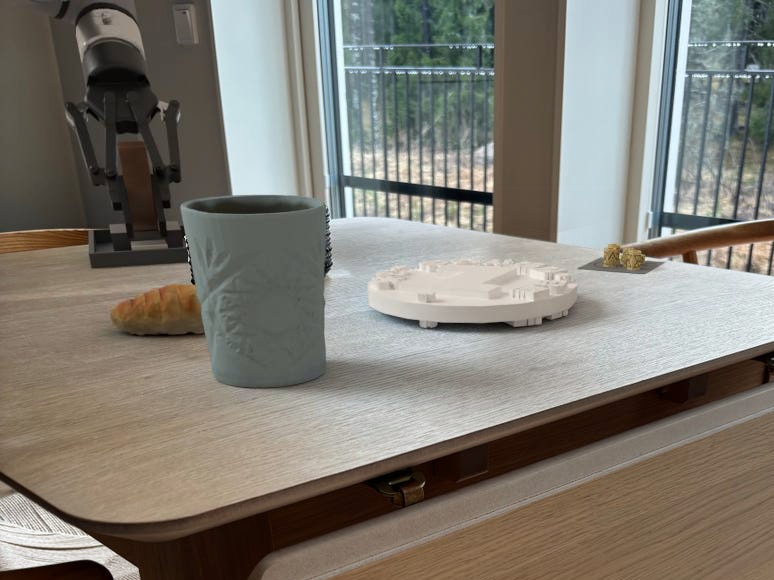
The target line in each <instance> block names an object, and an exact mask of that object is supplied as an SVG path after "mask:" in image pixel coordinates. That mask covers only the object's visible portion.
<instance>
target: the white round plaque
mask: <svg viewBox="0 0 774 580" xmlns="http://www.w3.org/2000/svg"><path fill="white" fill-rule="evenodd" d="M514 262H515V261H513V258H512V259H511V258H508V259H507V258H506V259H504V261H503V262H500V259H499V258H492V259H491V260H490V261H486V262H484V264H483V263H482V260H481V259H477V258H476V257H469V258H468V259H467V258H452V259H450V261H442V260H441V259H430V260H423V261H419V262H418V268H410V269H408V268H407V266H404V265H397V266H396V265H393V266H390V269H378V270H377V272H376V273H375V277H371V278H370V281H368V282H367V297H368V298H367V299H368V300H367V301H368V306H369V307H370V308H373V309H374V310H376V311H378V312H380V313H381V314H385V315H390V316H394V317H397V318H401V319H406V320H415V321H419V322H418V323H419V327H420V328H425V329H426V328H436V327H438V323H456V324H457V323H458V324H459V323H462V324H463V323H464V324H465V323H467V324H468V323H469V324H486V323H487V324H488V323H500V322H503V323H505V324H508V325H509V326H512V327H513V328H518V327H525V326H526V327H527V326H537V325H542V322H543V319H547V320H550V321H552V320H556V319H558V318H562V317H565V316H568V315H569V309H571V308H572V306H573V305H574V304H575V303H576V302H577V301H578V284H577V282H576V281H575V280H574V279H573V277H572V276H573V275H572V274H571V273H568V269H566V268H560V267H557V266H548V264H547V263H546V262H545V263H543V262H537V261H535V262H534V261H526V260H524V261H521V262H516V263H514Z"/></svg>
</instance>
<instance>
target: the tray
mask: <svg viewBox="0 0 774 580" xmlns="http://www.w3.org/2000/svg"><path fill="white" fill-rule="evenodd" d="M179 226H180V229H181V234H182V241H183V248H166V249H149V250H131V251H114V248H113V243H112V237H111V232H110V228H96V229H88V258H89V263H90V268H91V269H103V268H104V269H107V268H120V267H135V266H136V267H137V266H153V265H154V266H155V265H169V264H181V263H182V264H184V263H185V264H186V263H189V262H188V251H187V247H186V241H185V238H184V236H185V235H186V234H185V229H184V224H179Z"/></svg>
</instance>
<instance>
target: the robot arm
mask: <svg viewBox="0 0 774 580" xmlns="http://www.w3.org/2000/svg"><path fill="white" fill-rule="evenodd" d="M2 1H4V2H6V3H9V4H12V5H16V6H19V7H22V8H25V9H27V10H31V11H34V12H37V13H40V14H44V15H47V16H50V17H52V18H53V19H56V20H60V21H62V22H65V23H69V24H71V25H73V27H74V32H75V38H76V42H77V47H78V52H79V58H80V62H81V69H82V74H83V75H82V76H83V79H84V85H85V90H86V92H85V94H84V95H83V101H82V102H79V103H77V104H75V103H74V102H73V101H66V102H64V103H63V108H64V112H65V118H66V121H67V124H68V125H69V127H70V128H71V129H72V130H73V132H74V133H75V134H76V138H77V141H78V144H79V148H80V151H81V155H82V158H83V161H84V165H85V168H86V171H87V175H88V178H89V181H90V185H92V186H93V187H100V186H104V187H105V188H106V189H107V191H108V197H109V201H110V206H111V209H112V211H114V212H119V211H122V216H123V220H124V224H125V226H126V232H127V237H128V239H135V238H134V232H133V225H132V220H131V214H130V209H129V204H128V199H127V194H126V188H125V184H124V179H123V175H122V174H119V152H118V146H117V142H120V135H124V134H132V135H136V137H137V140H138V141H144V143H145V146H146V151H147V157H148V163H149V170H150V172H151V173H150V176H151V182H152V189H153V195H154V202H155V208H156V214H157V220H158V225H159V230H160V235H161V237H168V236H167V227H166V222H167V219H166V215H165V210H166V209H171V207H172V204H173V203H172V195H171V190H170V184H173V183H175V184H180V183H181V182H182V180H183V179H182V178H183V177H182V166H181V156H180V146H179V135H178V129H179V127H180V125H181V121H182V120H181V119H182V117H181V104H180V101H178V100H177V99H171V100H170V101H169V103H168V102H165V101H162V100H159V97H158V95H157V94H156V92H154V90H153V88H152V83H151V78H150V74H149V69H148V63H147V59H146V53H145V50H144V49H145V48H144V44H143V40H142V35H141V31H140V26H139V21H138V15H137V9H136V5H135V0H2ZM157 114H159V115H160V119H161V121H162V122H163V124H164V125H165V128H166V139H167V148H168V159H169V160H168V161H169V164H168V165H166V164H165V163H164V161H163V159H162V156H161V154H160V151H159V149H158V146H157V144H156V141H155V138H154V136H153V134H152V130H151V128H150V124H151V123H152V121H153V120H154V119H155V117H156V116H157ZM88 116H90V117H92V118H93V119H94V120H95V121H96V122H98V123H99V124H100V125H101V126H102V127H103V128H104V167H100V166H99V164H98V160H97V156H96V153H95V150H94V147H93V143H92V140H91V136H90V134H89V130H88V127H87V124H88V123H89V117H88ZM164 209H165V210H164Z"/></svg>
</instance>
